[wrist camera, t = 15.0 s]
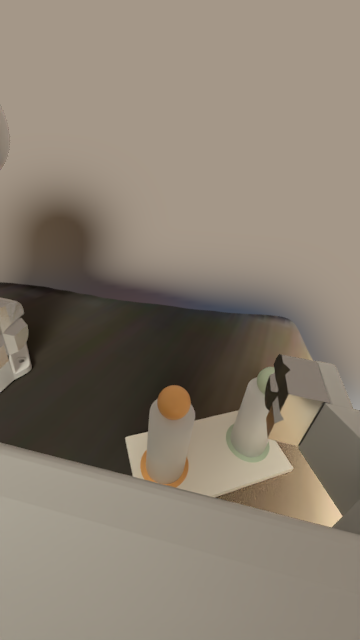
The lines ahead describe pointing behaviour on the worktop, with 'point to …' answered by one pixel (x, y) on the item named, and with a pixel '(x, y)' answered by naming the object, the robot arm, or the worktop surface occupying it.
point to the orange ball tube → (169, 434)
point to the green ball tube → (252, 418)
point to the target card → (214, 459)
